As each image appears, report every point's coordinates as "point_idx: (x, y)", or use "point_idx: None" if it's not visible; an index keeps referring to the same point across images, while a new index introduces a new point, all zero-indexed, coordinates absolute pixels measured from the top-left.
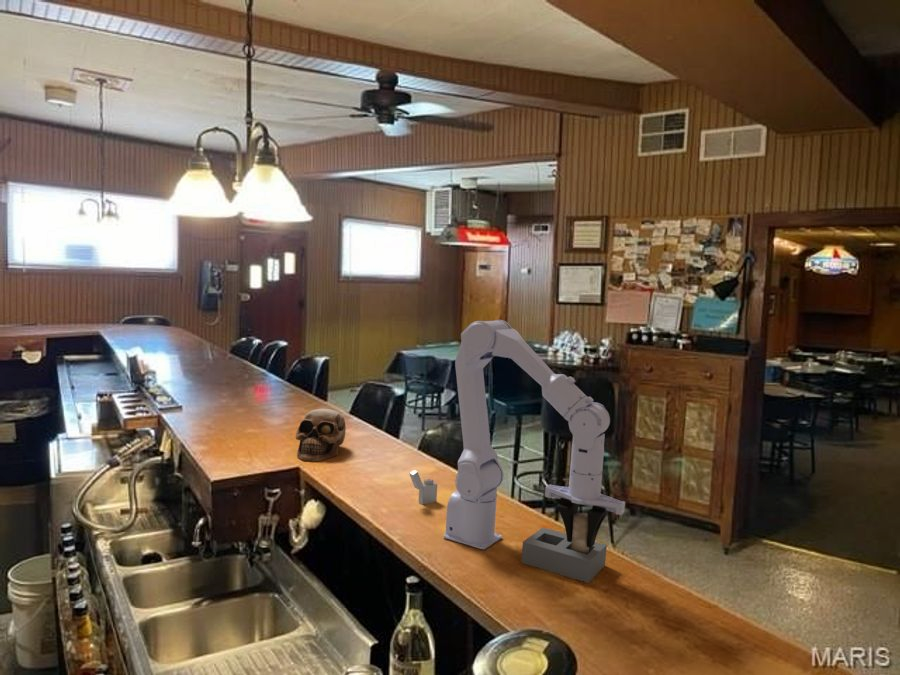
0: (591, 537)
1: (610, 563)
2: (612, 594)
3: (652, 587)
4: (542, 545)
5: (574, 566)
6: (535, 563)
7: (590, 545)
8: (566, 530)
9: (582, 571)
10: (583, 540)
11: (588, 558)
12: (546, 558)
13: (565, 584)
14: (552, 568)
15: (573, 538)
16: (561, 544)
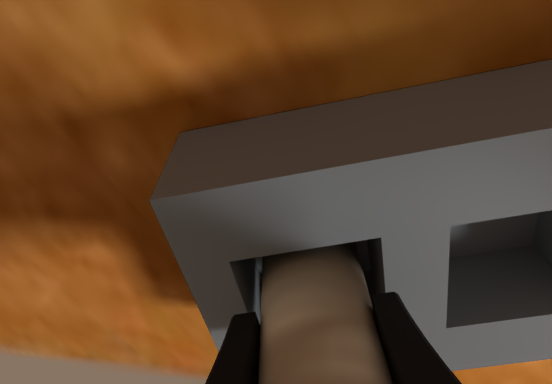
0: (208, 379)
1: None
2: (30, 124)
3: (12, 292)
4: (540, 161)
5: (258, 148)
6: (508, 75)
7: (229, 327)
8: (428, 353)
9: (207, 150)
10: (275, 336)
11: (185, 225)
12: (455, 110)
13: (249, 19)
14: (392, 100)
15: (351, 319)
16: (427, 262)
